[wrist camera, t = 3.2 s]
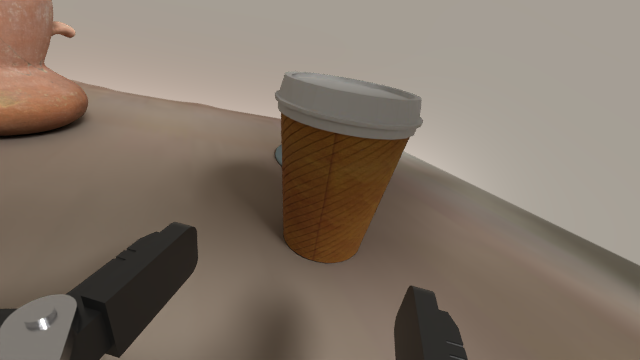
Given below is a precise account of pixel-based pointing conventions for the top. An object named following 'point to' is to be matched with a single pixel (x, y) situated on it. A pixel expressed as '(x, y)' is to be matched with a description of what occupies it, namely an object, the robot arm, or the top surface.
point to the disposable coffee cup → (338, 158)
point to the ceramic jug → (33, 71)
